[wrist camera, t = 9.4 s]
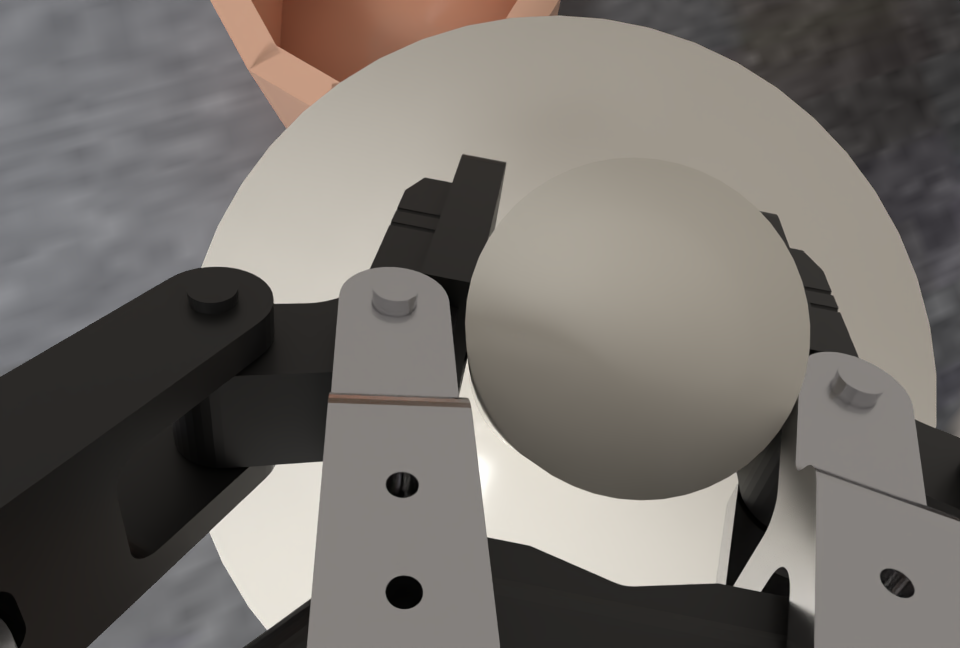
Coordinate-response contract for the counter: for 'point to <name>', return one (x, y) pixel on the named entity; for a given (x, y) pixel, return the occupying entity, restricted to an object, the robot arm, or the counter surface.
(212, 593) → the counter surface
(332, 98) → the lid
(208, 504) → the robot arm
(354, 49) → the bowl
